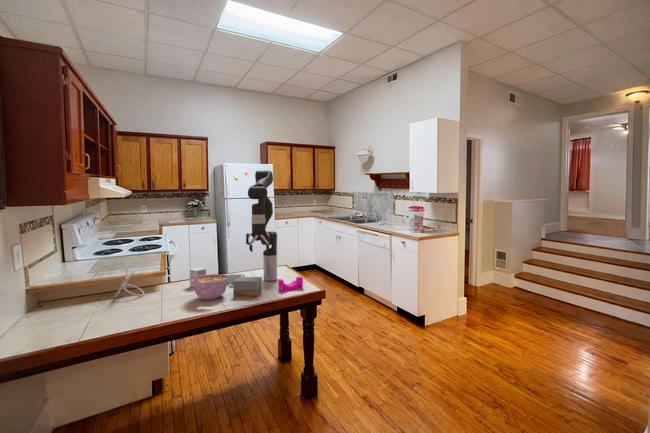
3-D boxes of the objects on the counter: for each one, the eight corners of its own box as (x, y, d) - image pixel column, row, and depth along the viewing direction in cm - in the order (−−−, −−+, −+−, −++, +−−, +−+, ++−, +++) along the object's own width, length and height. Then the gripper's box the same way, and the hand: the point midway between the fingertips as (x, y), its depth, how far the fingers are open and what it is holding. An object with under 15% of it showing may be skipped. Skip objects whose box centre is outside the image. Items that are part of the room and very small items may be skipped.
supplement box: (189, 288, 197) (189, 269, 197) (199, 286, 204) (198, 267, 203) (197, 290, 194) (196, 270, 193) (206, 287, 200) (206, 268, 200)
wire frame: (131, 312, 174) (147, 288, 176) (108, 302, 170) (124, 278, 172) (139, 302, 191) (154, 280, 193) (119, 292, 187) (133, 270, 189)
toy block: (299, 286, 200) (299, 275, 199) (302, 289, 194) (302, 277, 194) (277, 290, 193) (277, 278, 193) (280, 292, 187) (280, 280, 187)
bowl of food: (205, 291, 190) (205, 273, 189) (235, 293, 186) (234, 274, 185) (184, 302, 170) (183, 281, 170) (217, 304, 166) (216, 283, 166)
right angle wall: (226, 285, 204) (226, 274, 204) (245, 285, 205) (244, 273, 205) (222, 290, 192) (221, 278, 192) (241, 290, 193) (241, 278, 193)
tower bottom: (239, 292, 188) (239, 284, 188) (261, 293, 188) (261, 285, 187) (233, 298, 178) (233, 289, 178) (257, 298, 178) (257, 289, 177)
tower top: (239, 284, 188) (239, 276, 188) (261, 285, 187) (261, 277, 187) (233, 289, 178) (233, 281, 178) (257, 289, 177) (257, 281, 177)
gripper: (270, 221, 176) (271, 249, 177) (244, 222, 172) (245, 251, 173) (272, 222, 169) (273, 251, 170) (245, 223, 164) (246, 253, 166)
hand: (259, 251), depth 171 cm, fingers open, 8 cm apart
